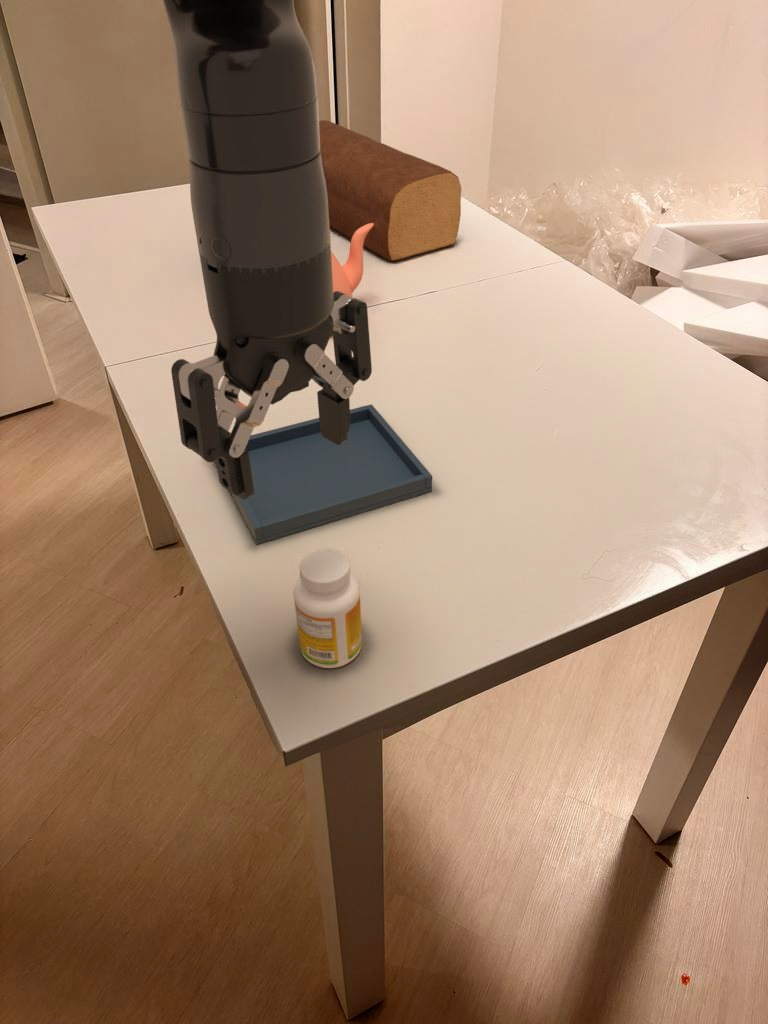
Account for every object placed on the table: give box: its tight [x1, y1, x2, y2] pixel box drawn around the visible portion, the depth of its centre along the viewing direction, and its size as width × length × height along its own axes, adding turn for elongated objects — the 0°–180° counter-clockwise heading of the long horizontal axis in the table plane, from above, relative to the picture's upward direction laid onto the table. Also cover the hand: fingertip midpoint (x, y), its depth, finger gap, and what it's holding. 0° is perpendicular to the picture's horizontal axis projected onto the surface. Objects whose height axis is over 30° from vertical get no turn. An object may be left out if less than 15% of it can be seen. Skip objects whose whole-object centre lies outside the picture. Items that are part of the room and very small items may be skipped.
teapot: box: [331, 223, 374, 297], centre depth 113 cm, size 22×16×12 cm
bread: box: [319, 119, 462, 262], centre depth 142 cm, size 16×39×13 cm, turn 34°
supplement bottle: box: [293, 547, 363, 669], centre depth 66 cm, size 5×5×10 cm
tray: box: [213, 403, 433, 545], centre depth 87 cm, size 20×16×2 cm
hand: (289, 465), depth 56 cm, fingers open, 8 cm apart
